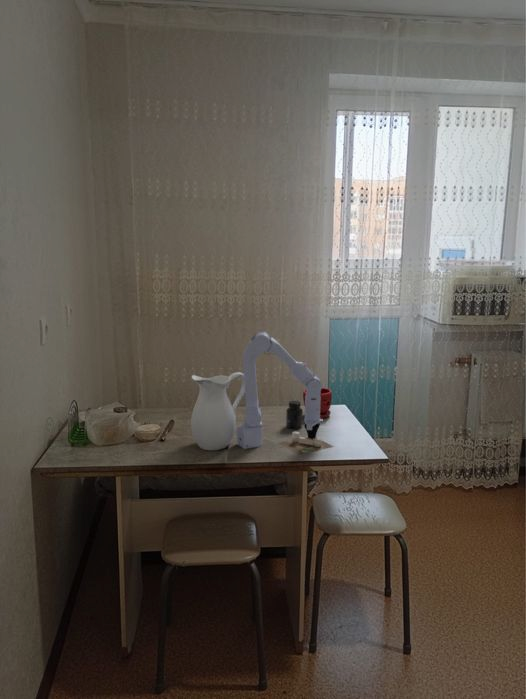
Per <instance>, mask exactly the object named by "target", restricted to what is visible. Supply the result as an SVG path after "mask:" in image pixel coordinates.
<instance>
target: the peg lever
mask: <svg viewBox="0 0 526 699" xmlns="http://www.w3.org/2000/svg"><path fill="white" fill-rule="evenodd" d="M300 433H301V432H299V431H292V436H291V438H292V439H291V440H292V442H299V443H304V444H309V445H313V446H315V447H320V446H322V441H323V438H322V437H319V436H316V437H315V438H313V439H311V438H304V437H305V436H304V437H303V436H301V434H300Z"/></svg>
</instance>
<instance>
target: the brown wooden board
mask: <svg viewBox="0 0 526 699" xmlns="http://www.w3.org/2000/svg"><path fill="white" fill-rule="evenodd" d="M304 438H308V436H304ZM279 444H280V445H281V446H283V447H285V448H287V449H288V450H290V451H292V452H294V453H295V454H297V455H303V454H307V453H312V452H318V451H321V450H326V449H330V448H334V445H332V444H330V443H328V442H327V441H324V440H322V446H320V447H315V446H313V445H309V444H304V443H299V442H292V439H291V440H287V441H286V440H285V441H281V442H279Z"/></svg>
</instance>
